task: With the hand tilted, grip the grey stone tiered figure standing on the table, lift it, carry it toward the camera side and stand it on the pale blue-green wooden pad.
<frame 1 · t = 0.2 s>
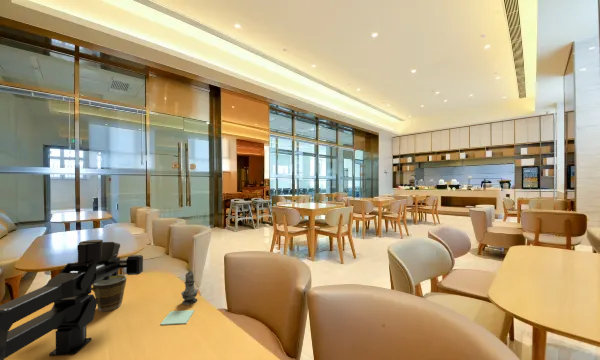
hand: (128, 258, 96), 17 cm above the table, tool horizontal, fingers open, 9 cm apart
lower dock: (178, 317, 85), on the table
grey stone tiered figure: (189, 302, 97), on the table
ceramic cup: (105, 309, 92), on the table
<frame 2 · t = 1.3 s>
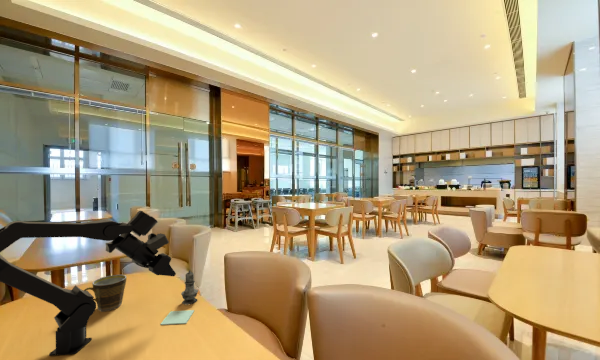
hand: (168, 272, 91), 13 cm above the table, tool tilted 45°, fingers open, 9 cm apart
nothing on the table moved.
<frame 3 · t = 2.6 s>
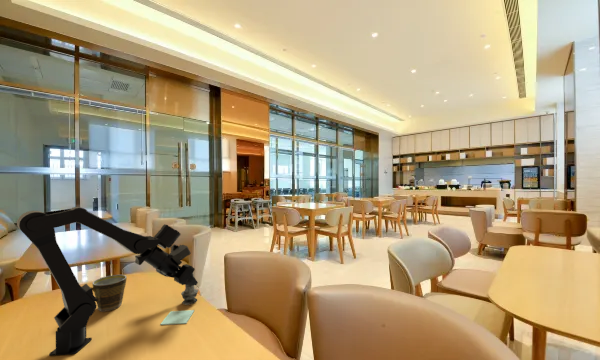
hand: (190, 280, 97), 8 cm above the table, tool tilted 45°, fingers open, 9 cm apart
nothing on the table moved.
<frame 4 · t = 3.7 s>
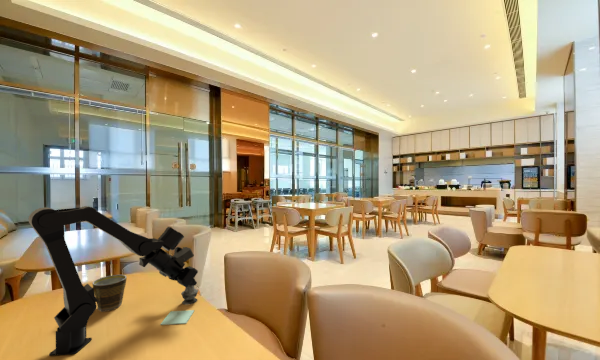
hand: (193, 282, 98), 7 cm above the table, tool tilted 45°, fingers closed on grey stone tiered figure, 4 cm apart
grey stone tiered figure: (189, 302, 97), on the table, touching gripper
everything else where it was.
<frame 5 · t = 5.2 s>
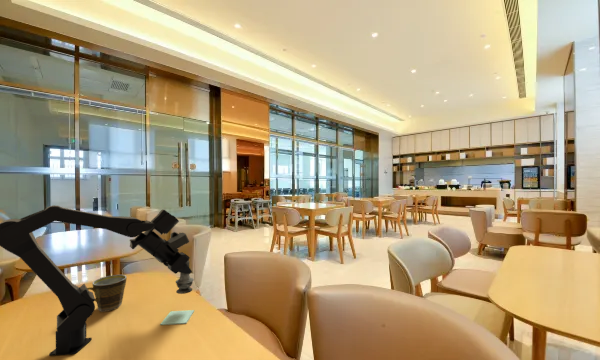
hand: (188, 271, 92), 13 cm above the table, tool tilted 45°, fingers closed on grey stone tiered figure, 4 cm apart
grey stone tiered figure: (184, 291, 91), point 6 cm above the table, touching gripper
everything else where it was.
when the fingers open (8 cm above the table, at t = 7.0 s): grey stone tiered figure stays where it is, resting on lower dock.
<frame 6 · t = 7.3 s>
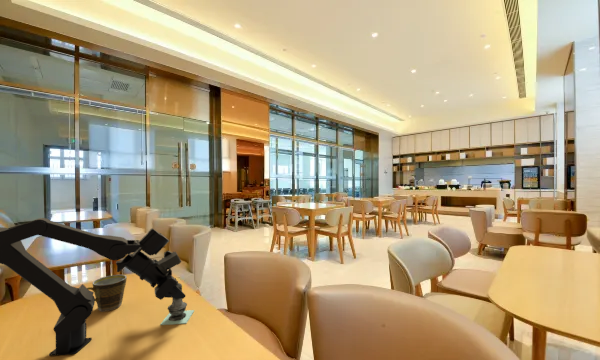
hand: (182, 293, 86), 8 cm above the table, tool tilted 45°, fingers open, 7 cm apart
grey stone tiered figure: (177, 317, 85), resting on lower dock
everything else where it was.
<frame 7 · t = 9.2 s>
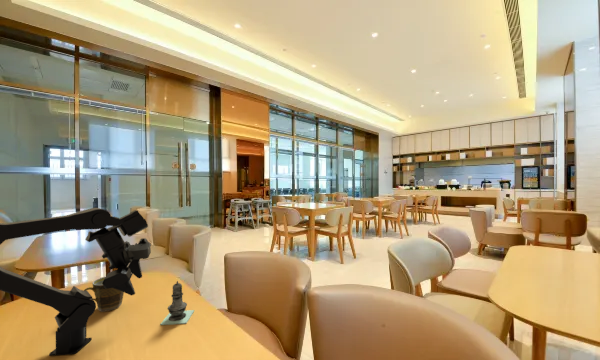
hand: (137, 285, 83), 12 cm above the table, tool tilted 25°, fingers open, 9 cm apart
nothing on the table moved.
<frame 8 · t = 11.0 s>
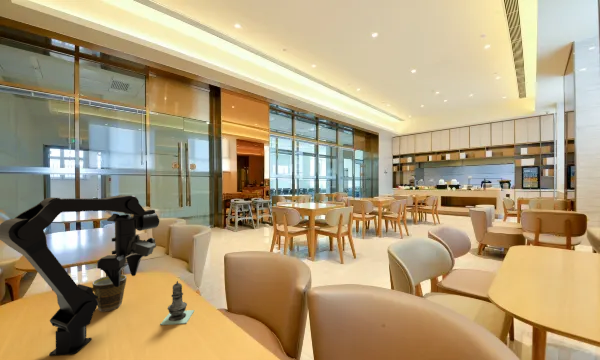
hand: (125, 280, 84), 13 cm above the table, tool pointing down, fingers open, 9 cm apart
nothing on the table moved.
at the end: grey stone tiered figure inside the target area on the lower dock (0.2 cm from its centre), point 0.1 cm above the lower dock's base; grey stone tiered figure tilted 0°; the gripper is holding nothing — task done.
